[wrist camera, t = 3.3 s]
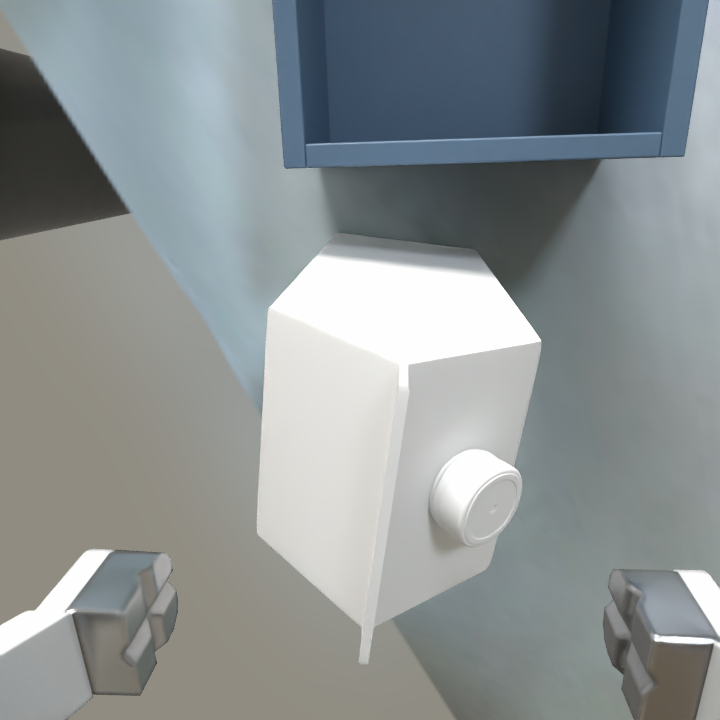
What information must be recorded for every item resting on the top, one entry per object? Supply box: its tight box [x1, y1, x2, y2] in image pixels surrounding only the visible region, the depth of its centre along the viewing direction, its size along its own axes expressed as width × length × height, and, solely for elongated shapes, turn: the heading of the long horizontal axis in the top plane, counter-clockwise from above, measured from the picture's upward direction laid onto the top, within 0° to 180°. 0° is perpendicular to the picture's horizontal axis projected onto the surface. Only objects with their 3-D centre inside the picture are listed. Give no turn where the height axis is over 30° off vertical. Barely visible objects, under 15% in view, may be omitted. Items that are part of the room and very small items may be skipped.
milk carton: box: [257, 233, 542, 665], centre depth 21 cm, size 7×7×19 cm
